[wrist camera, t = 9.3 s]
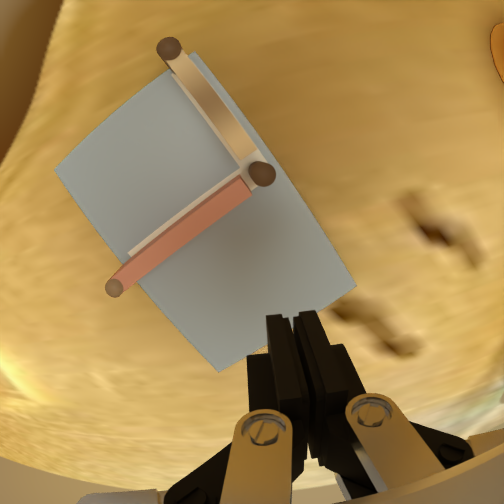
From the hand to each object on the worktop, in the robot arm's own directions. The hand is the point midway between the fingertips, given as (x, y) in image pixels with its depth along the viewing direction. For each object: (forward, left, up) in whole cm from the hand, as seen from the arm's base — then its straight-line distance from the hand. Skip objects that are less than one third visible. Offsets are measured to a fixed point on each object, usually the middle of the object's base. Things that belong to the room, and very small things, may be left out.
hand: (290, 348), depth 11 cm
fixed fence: (-9, +3, -14) cm, 17 cm away
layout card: (-3, -3, -14) cm, 15 cm away
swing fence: (-4, -4, -14) cm, 15 cm away
